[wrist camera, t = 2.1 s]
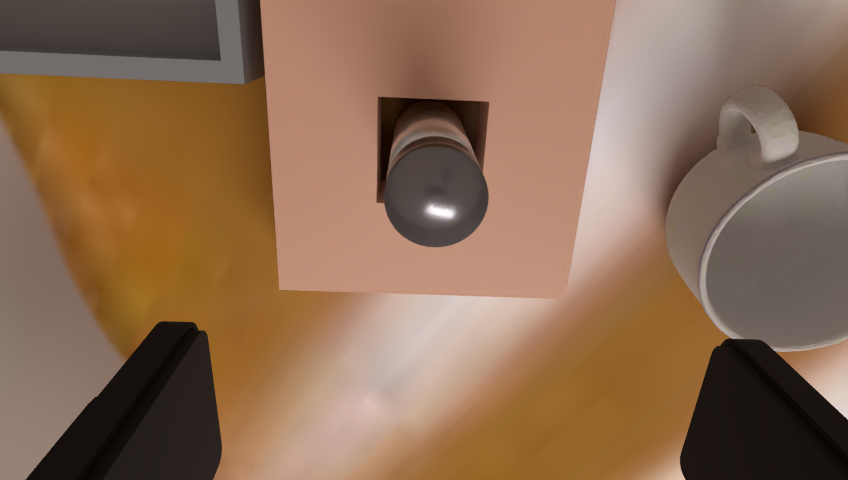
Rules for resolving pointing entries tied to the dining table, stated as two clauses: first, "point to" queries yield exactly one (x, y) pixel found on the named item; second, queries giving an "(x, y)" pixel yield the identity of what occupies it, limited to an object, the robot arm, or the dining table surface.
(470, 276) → the hitch block
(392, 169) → the pin
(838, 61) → the dining table surface
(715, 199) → the teacup
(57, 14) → the tray
